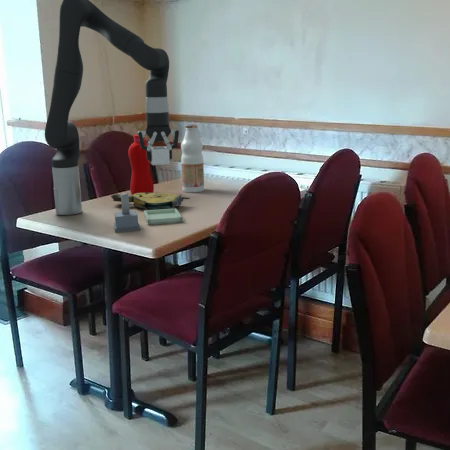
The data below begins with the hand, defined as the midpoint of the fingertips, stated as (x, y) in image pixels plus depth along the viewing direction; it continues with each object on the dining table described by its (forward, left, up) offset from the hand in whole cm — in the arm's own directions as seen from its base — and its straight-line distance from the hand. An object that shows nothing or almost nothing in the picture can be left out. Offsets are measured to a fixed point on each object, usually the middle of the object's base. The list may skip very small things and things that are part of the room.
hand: (159, 161), depth 194 cm
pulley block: (-3, +20, -20) cm, 28 cm away
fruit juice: (+19, +45, -20) cm, 53 cm away
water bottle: (-2, +44, -20) cm, 49 cm away
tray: (0, 0, -20) cm, 20 cm away
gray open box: (0, 0, -1) cm, 1 cm away
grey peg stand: (-13, -9, -20) cm, 26 cm away
